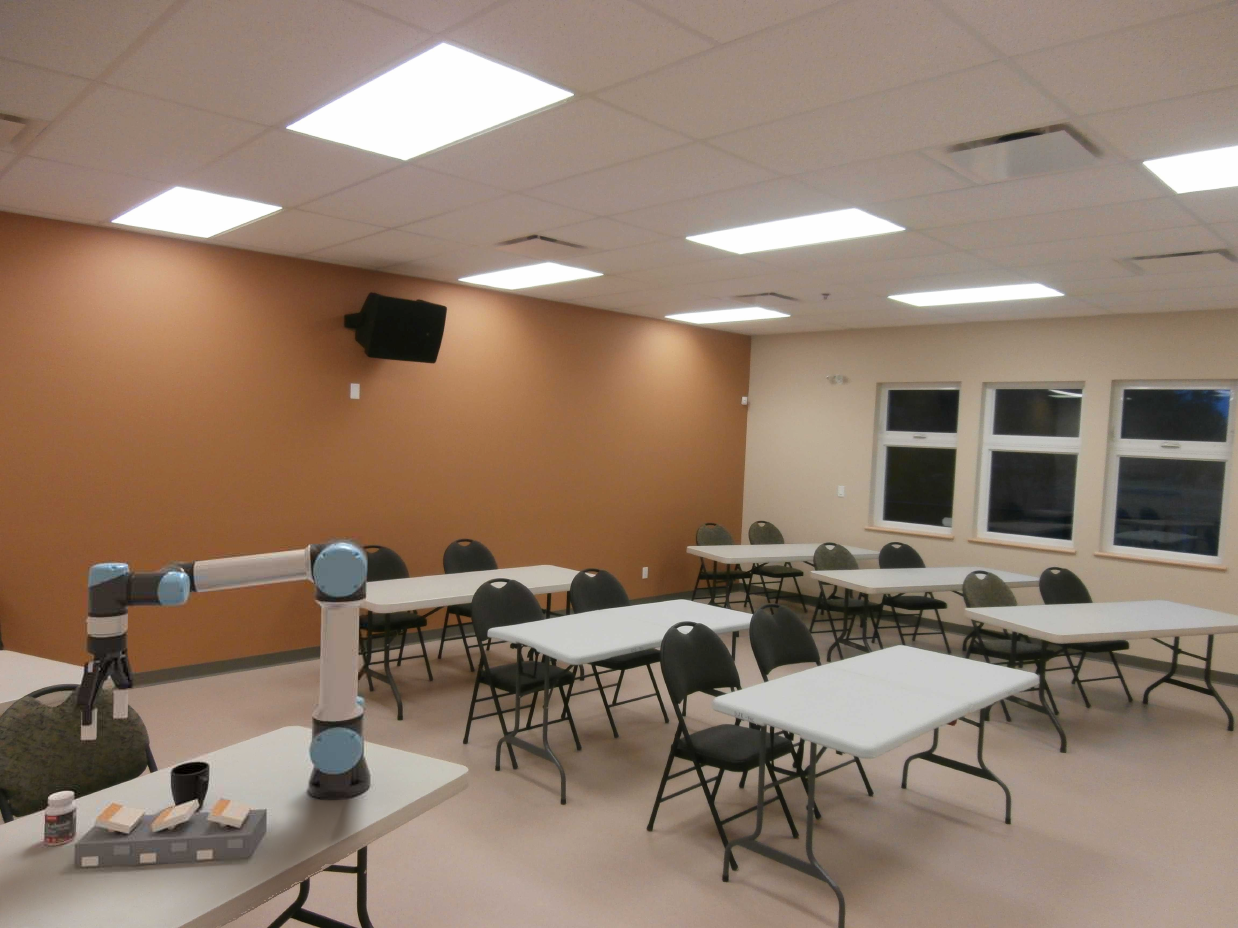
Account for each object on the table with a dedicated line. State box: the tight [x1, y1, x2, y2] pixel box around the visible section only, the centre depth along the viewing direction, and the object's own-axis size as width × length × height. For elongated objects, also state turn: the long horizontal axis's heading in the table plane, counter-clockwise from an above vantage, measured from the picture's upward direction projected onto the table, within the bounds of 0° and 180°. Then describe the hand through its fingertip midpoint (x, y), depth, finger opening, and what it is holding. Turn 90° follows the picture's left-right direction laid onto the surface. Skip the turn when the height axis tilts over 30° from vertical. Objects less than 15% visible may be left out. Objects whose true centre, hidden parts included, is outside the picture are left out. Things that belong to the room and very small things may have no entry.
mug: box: [170, 761, 210, 811], centre depth 188 cm, size 8×12×10 cm
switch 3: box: [207, 797, 253, 828], centre depth 171 cm, size 7×7×2 cm
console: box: [73, 808, 268, 870], centre depth 169 cm, size 34×12×6 cm, turn 99°
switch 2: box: [151, 799, 199, 832], centre depth 169 cm, size 7×7×2 cm
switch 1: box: [93, 802, 146, 834], centre depth 167 cm, size 7×7×2 cm
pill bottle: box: [43, 790, 77, 847], centre depth 172 cm, size 6×6×10 cm
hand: (105, 728), depth 175 cm, fingers open, 13 cm apart
